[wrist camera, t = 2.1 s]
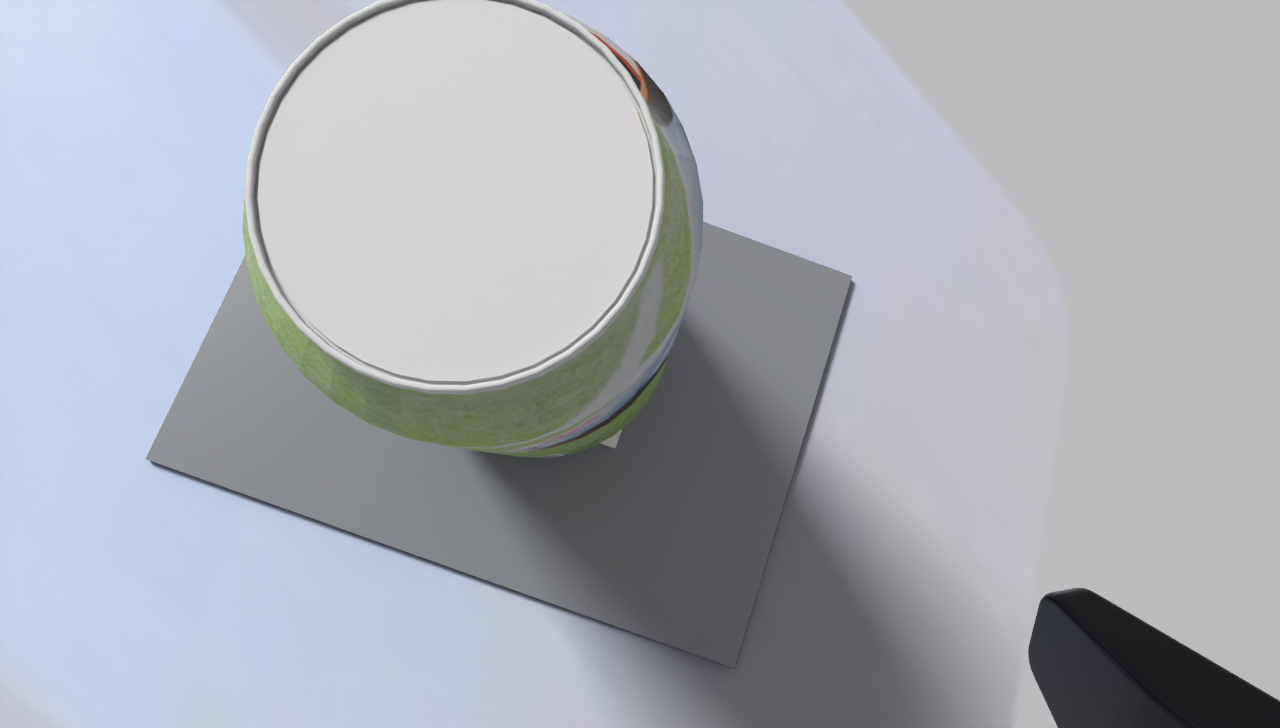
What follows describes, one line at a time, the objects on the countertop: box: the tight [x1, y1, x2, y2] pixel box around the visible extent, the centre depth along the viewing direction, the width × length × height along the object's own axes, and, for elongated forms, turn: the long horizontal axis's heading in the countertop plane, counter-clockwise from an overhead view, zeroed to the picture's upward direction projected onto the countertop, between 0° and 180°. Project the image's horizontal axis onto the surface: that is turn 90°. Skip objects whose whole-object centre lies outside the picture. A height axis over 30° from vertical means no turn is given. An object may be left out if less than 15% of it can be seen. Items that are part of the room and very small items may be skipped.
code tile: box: [146, 222, 852, 668], centre depth 23 cm, size 14×10×1 cm
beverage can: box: [243, 0, 703, 458], centre depth 17 cm, size 6×7×12 cm
